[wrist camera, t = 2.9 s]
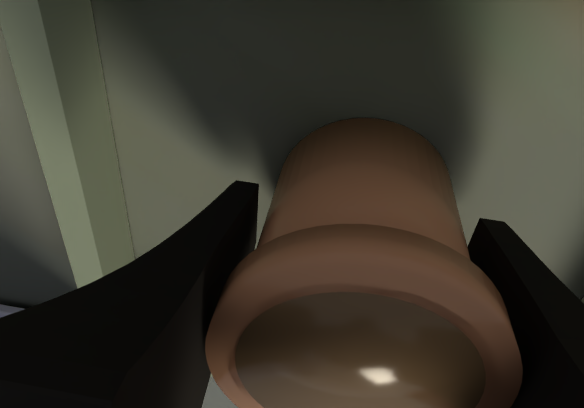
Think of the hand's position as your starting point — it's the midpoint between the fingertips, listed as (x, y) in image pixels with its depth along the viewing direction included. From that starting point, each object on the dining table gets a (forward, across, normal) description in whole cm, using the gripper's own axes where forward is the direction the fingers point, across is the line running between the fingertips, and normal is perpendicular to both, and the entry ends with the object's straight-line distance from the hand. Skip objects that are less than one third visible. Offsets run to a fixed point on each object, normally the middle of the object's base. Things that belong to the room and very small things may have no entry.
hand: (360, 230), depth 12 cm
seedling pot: (+2, 0, 0) cm, 2 cm away
